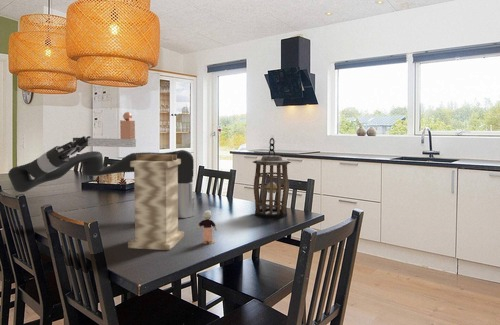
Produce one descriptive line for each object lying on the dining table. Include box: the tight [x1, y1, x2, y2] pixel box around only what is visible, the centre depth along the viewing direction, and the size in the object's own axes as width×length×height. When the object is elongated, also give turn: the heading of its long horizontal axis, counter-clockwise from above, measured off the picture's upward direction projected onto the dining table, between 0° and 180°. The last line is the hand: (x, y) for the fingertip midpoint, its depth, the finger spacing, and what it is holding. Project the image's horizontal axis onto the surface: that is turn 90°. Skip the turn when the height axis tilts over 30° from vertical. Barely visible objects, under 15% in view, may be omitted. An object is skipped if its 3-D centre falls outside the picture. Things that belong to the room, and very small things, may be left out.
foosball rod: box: [72, 111, 137, 148], centre depth 145 cm, size 24×4×13 cm, turn 83°
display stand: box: [127, 154, 185, 251], centre depth 145 cm, size 16×18×34 cm
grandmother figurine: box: [197, 210, 218, 245], centre depth 146 cm, size 8×4×13 cm, turn 92°
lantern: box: [252, 137, 292, 220], centre depth 194 cm, size 19×19×40 cm
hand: (88, 138), depth 146 cm, fingers closed on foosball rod, 3 cm apart
